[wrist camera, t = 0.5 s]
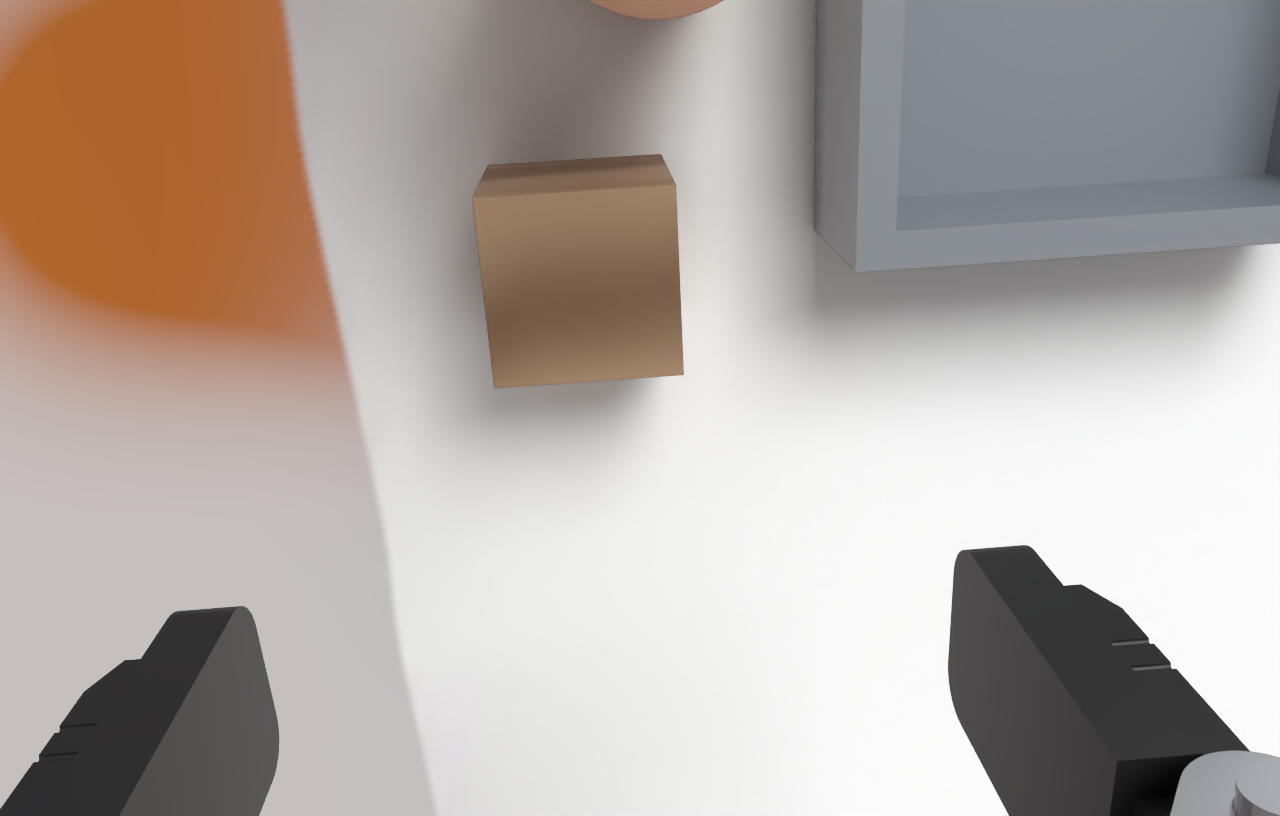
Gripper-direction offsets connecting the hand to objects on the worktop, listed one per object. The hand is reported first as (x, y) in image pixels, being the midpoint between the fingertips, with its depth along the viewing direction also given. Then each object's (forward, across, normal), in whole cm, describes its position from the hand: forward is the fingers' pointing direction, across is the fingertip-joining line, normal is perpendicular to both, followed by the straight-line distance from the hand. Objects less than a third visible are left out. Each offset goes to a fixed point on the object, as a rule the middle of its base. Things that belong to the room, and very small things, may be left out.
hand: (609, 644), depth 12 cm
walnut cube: (+21, 0, 0) cm, 21 cm away
